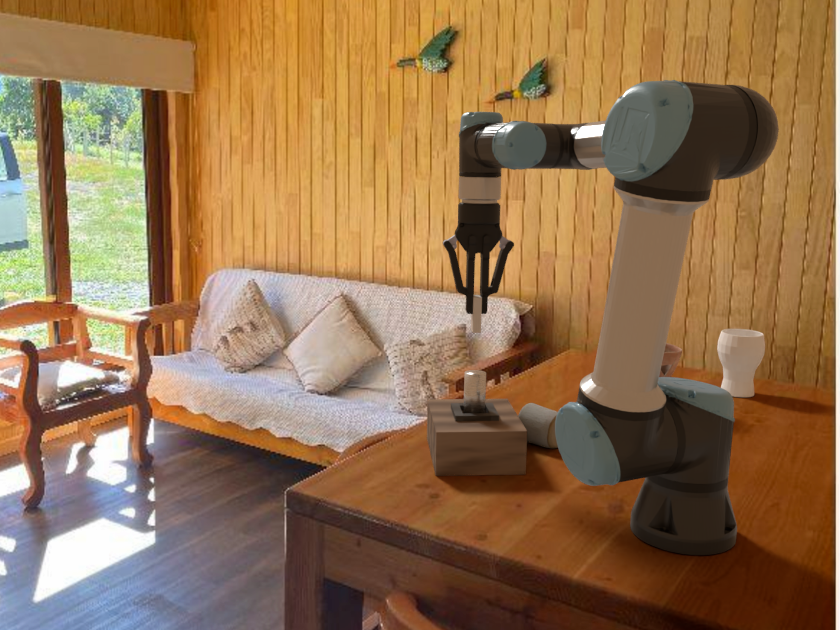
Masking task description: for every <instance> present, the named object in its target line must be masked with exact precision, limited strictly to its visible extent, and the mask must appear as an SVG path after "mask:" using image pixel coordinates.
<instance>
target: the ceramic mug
mask: <svg viewBox="0 0 840 630" xmlns="http://www.w3.org/2000/svg"><path fill="white" fill-rule="evenodd" d="M557 413H558V411H556V410H554V409H551V408H547V407H545V406H542V405H539V404H536V403H534V402H529V403H526V404H525V405H523V406H522V408H520V411H519V413H518V414H517V415H518V417H519V419H520V420H521V422H522V423H523V425H524V427H525V428H526V430H527V443H530V444H532V445H537V446H540V447H543V448H547V449H552V450H553V449H557V448H558V445H557V441H556V435H555V421H556V416H557Z"/></svg>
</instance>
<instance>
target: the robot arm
mask: <svg viewBox="0 0 840 630" xmlns="http://www.w3.org/2000/svg"><path fill="white" fill-rule="evenodd" d="M616 99H617V100H616V101H615V102H614V104H612V106H611V108H610V110H609V112H608V114H607V116H606V120H601V121H600V120H599V121H592V122H591V121H590V122H583V123H548V122H547V123H546V122H531V121H526V120H521V121H520V120H512V121H509V122H504V118H503V115H502V113H500V112H496V111H468V112H467V111H466V112H464V113H463V114H462V115H461V117H460V122H459V123H460V124H459V125H460V127H459V132H458V138H459V139H458V140H459V141H458V146H459V147H458V149H459V150H458V153H459V154H458V158H459V159H458V195H457V196H458V199H459V200H461V202H460V201H459V202H458V203H459V204H457V227H456V229H455V231H454V235H452V236H451V237H449V238H448V239H444V240H443V241H442V246H444V249H446V251H447V253H448V259H449V263H450V266H451V267H450V268H451V272H452V276H453V281H454V285H455V290H456V291H457V292H458V293H459V294H462V295H464V296H465V311H466V314H467V315H470V331H471V332H472V333H473V334H481V333H482V315H486V314H487V313H488V298H489V296H490V295H493V294H497V293H498V292H499V289H500V285H501V282H502V277H503V274H504V270H505V266H506V264H507V261H508V260H507V259H508V257H509V254H510V252H512V249H513V248H515V247H514V246H515V242H514V241H512V240H510V239H508V238H506V237H505V236H503V231H502V229H501V204H500V203H499V202H498V201H499V200H501V198H502V196H501V195H502V193H501V192H502V169H508V170H513V171H516V170H528V169H529V170H530V169H533V170H535V169H536V170H537V169H538V170H541V169H542V170H552V169H555V170H556V169H557V170H583V171H585V170H586V171H590V170H596V169H606V170H607V171H608V172H609V173H610V174H611V175H612V176H613V177H614V181H613V182H614V183H613V190H615V192H616V193H617V195H618V196H619V197H620V199H621V200H622V209H621V213H620V220H619V225H618V226H619V227H618V231H617V232H618V233H617V237H616V243H615V249H614V254H613V260H612V264H611V265H612V266H611V272H610V275H609V276H610V277H609V282H608V287H607V293H606V298H605V299H606V300H605V305H604V310H603V316H602V323H601V328H600V333H599V339H598V344H597V350H596V355H595V356H596V357H595V360H594V367H593V371H592V372H591V373H588V374H587V375H585V376H584V377H583V378H581V380H580V381H579V382H580V383H579V388H578V394H577V398H576V401H568V402H567V403H566V404H563V406H562V407H560V408H559V409H558V411H557V412H558V413H557V416H556V421H555V435H556V441H557V445H558V452H559V454H560V456H561V458H562V461H563V463H564V465H565V466H566V468H567V469H568V471H569V472H570V473H571V475H573V477H574V478H575V479H577V480H578V481H579V482H581V483H583V484H584V485H588V486H591V487H596V486H597V487H598V486H604V485H609V486H614V485H617V484H618V483H623V482H628V481H634V480H641V479H644V480H643V483H642V485H641V487H640V489H639V492H638V495H637V497H636V499H635V501H634V503H633V506H632V509H631V511H630V525H629V526H630V530H631V532H632V534H633V535H634V536H636V537H637V538H638V539H639V540H641V541H642V542H645V543H646V544H647V545H651V546H652V547H655V548H658V549H660V550H664V551H665V552H670V553H675V554H682V555H689V556H708V555H709V556H710V555H715V554H721V553H724V552H727V551H729V550H731V549H732V548H733V547H735V545H736V542H737V533H738V524H737V521H736V516H735V513H734V509H733V506H732V501H731V498H730V497H731V496H730V494H729V487H728V486H729V477H730V476H729V474H730V467H731V454H732V444H733V443H732V442H733V433H734V424H735V421H736V419H735V417H734V414H735V401H734V397H733V396H731V394H730V393H729V392H728V391H726V390H724V389H722V388H721V386H717V385H715V384H711V383H707V382H703V381H699V380H695V379H690V378H689V379H688V378H682V377H674V376H671V377H659V375H660V370H661V365H662V360H663V356H664V351H665V346H666V343H667V340H668V336H669V330H670V326H671V322H672V318H673V317H672V316H673V312H674V307H675V302H676V298H677V293H678V289H679V283H680V278H681V273H682V268H683V263H684V258H685V255H686V249H687V245H688V240H689V235H690V230H691V224H692V222H693V221H692V219H693V216H694V213H695V212H696V211H697V210H698V209H700V208H701V207H703V206H705V205H706V204H707V203H709V201H710V197H711V193H712V187H713V183H714V180H715V181H717V180H718V181H720V180H723V181H725V180H731V179H737V178H741V177H744V176H747V175H749V174H752V173H753V172H755V171H756V170H758V169H759V168H760V167H762V166H763V165H764V164H765V163H766V162H767V160H768V159H769V158H770V157H771V155H772V153H773V152H774V150H775V147H776V145H777V142H778V139H779V138H778V137H779V132H780V131H779V130H780V129H779V120H778V117H777V113H776V111H775V109H774V108H773V106H772V105H771V103H770V102H769V100H767V98H766V97H765V96H764V95H762V94H761V93H760V92H758V91H756V90H754V89H752V88H749V87H745V86H742V85H736V84H717V83H707V82H706V83H704V82H692V81H681V80H680V81H678V80H676V79H672V80H668V79H663V80H651V81H649V80H647V81H643V82H642V81H641V82H639V83H637V84H634V85H632V86H630V88H628V89H626V90H625V92H624V93H623V94H622V95H620V96H619V97H618V98H616ZM457 242H458V243H459V245H460V246H461V247H462V249H463V250H464V252H466V253H465V254H466V255H465V256H466V265H465V266H466V267H465V268H466V269H465V286H464V282H463V278H462V273H461V269H460V264H459V261H458V255H457V252H456V249H457V248H458V245H457V244H458V243H457ZM498 243H499V245H498V247H499V249H500V250H499V252H498V256H497V260H496V263H495V267H494V271H493V273H492V276H491V277H492V278H491V281H489V273H490V258H491V257H490V256H491V254H490V253H491V252H493V250H494V249H495V247H496V246H497V244H498ZM477 254H479V256H480V267H479V268H480V272H479V294H475V274H476V273H475V271H476V270H475V269H476V265H475V264H476V255H477ZM489 283H490V284H489Z"/></svg>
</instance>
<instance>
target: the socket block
mask: <svg viewBox="0 0 840 630" xmlns="http://www.w3.org/2000/svg"><path fill="white" fill-rule="evenodd" d="M426 403H427V405H426V406H427V407H426V408H427V409H426V410H427V411H426V413H427V414H426V440H427V444H428V445H427V446H428V449H429V453H430V456H431V461H432V467H433V470H434V475H435V477H437V476H439V477H440V476H441V477H443V476H445V477H446V476H454V477H455V476H502V475H505V476H506V475H509V476H510V475H519V476H520V475H526V474H527V473H526V471H527V444H528V442H527V430H526V428H525V427H524V425H523V423H522V422H521V420H520V419H519V417H518V415H519V414H517V412H516V410H515V408H514V407H513V405H512V404H511V402H510V400H509V399H508V398H485V413H464V398H455V399H453V398H447V399H446V398H445V399H443V398H441V399H440V398H439V399H438V398H437V399H435V398H434V399H430V398H429V399H428V398H427V401H426Z"/></svg>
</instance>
